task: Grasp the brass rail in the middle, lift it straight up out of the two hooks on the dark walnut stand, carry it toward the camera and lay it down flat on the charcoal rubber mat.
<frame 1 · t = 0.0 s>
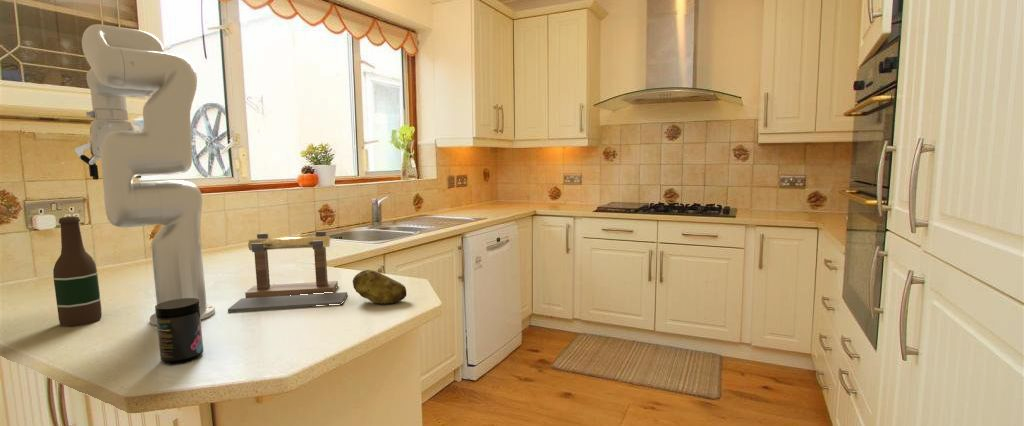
hand: (117, 178, 140), 31 cm above the countertop, tool pointing down, fingers open, 9 cm apart
mat: (290, 303, 125), on the countertop
potato: (379, 303, 125), on the countertop
hook stand: (293, 292, 135), on the countertop
supplement container: (182, 359, 92), on the countertop
rail: (290, 243, 134), point 13 cm above the countertop, touching hook stand
beer bottle: (81, 322, 113), on the countertop
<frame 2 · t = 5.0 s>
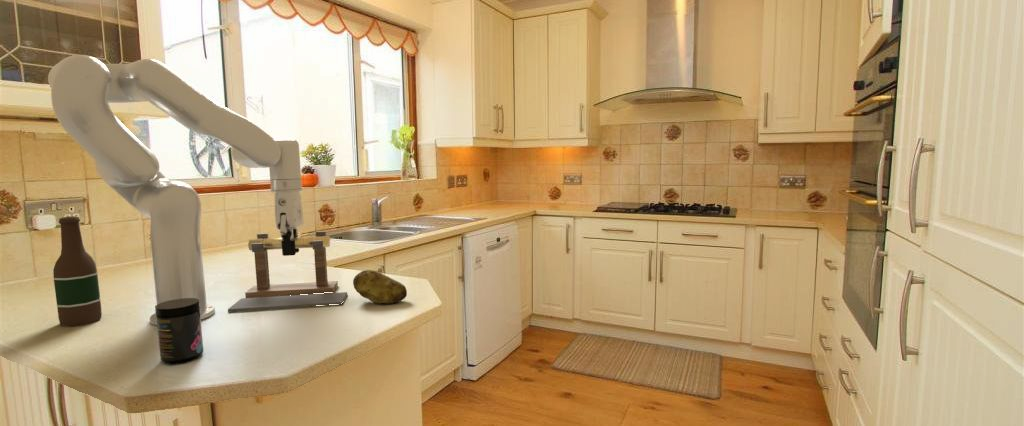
hand: (291, 253, 134), 11 cm above the countertop, tool pointing down, fingers closed on rail, 3 cm apart
rail: (290, 243, 134), point 13 cm above the countertop, touching gripper, hook stand
everything else where it was.
when the fingers open (2 cm above the countertop, at t = 11.0 s): rail drops 2 cm, resting on mat.
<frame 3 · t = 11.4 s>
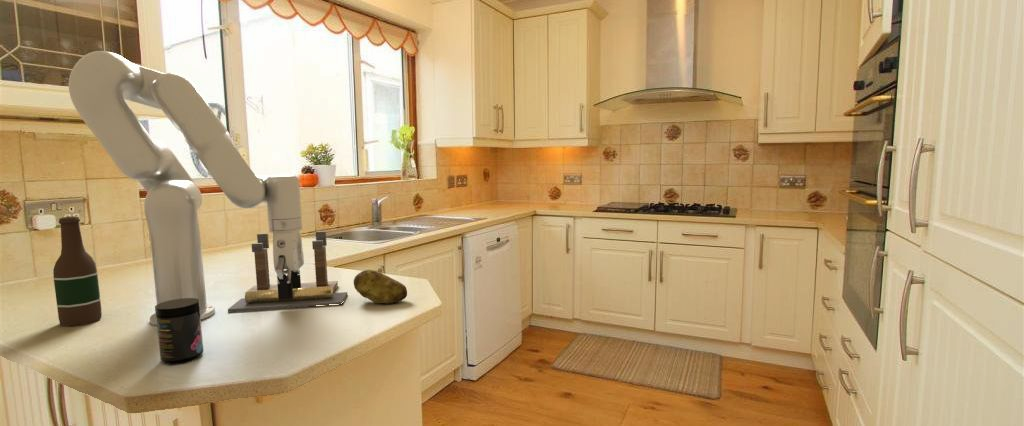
hand: (290, 294, 124), 2 cm above the countertop, tool pointing down, fingers open, 7 cm apart
rail: (289, 294, 124), point 2 cm above the countertop, tilted 9°, touching mat
everything else where it was.
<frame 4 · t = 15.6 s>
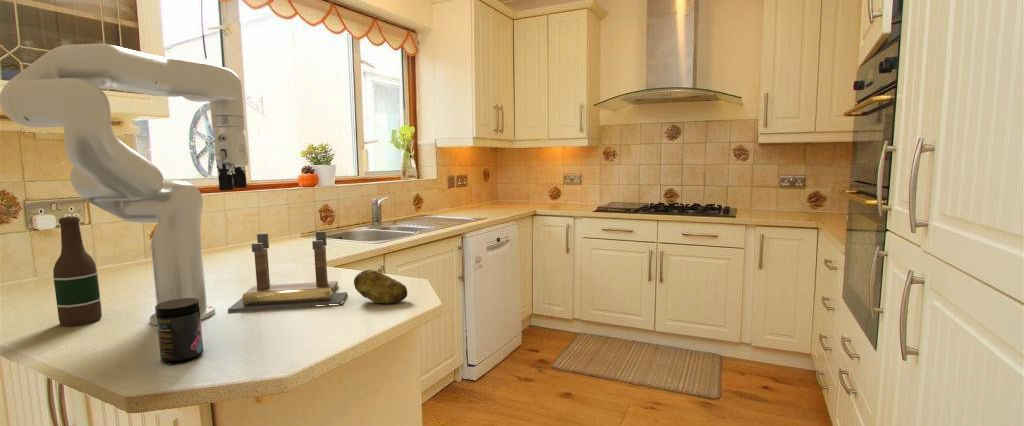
hand: (233, 188, 132), 28 cm above the countertop, tool pointing down, fingers open, 9 cm apart
rail: (288, 296, 122), point 2 cm above the countertop, tilted 78°, touching mat
everything else where it was.
at the end: rail inside the target area (2.0 cm from its centre), point 2.3 cm above the countertop; rail touching mat; the gripper is holding nothing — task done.
